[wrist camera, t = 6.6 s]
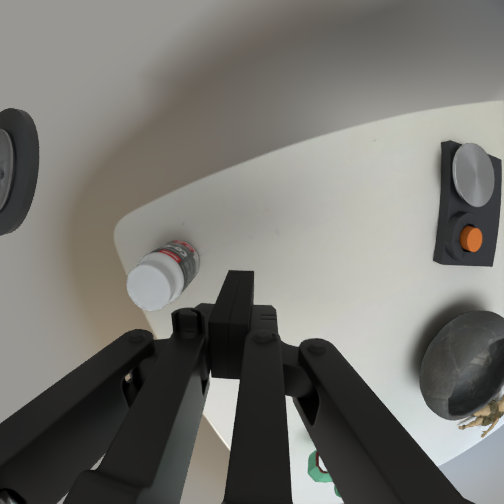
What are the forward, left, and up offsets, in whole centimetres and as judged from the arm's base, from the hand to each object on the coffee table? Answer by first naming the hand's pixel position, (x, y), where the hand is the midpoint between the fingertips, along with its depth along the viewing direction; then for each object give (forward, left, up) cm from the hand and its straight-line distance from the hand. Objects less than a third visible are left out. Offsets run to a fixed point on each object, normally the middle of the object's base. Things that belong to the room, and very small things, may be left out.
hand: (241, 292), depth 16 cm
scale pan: (+5, +26, -8) cm, 27 cm away
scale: (+9, +26, -12) cm, 30 cm away
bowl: (+26, +17, -12) cm, 33 cm away
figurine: (+53, +24, -12) cm, 59 cm away
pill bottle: (-3, -7, -12) cm, 14 cm away
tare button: (+11, +22, -9) cm, 26 cm away
